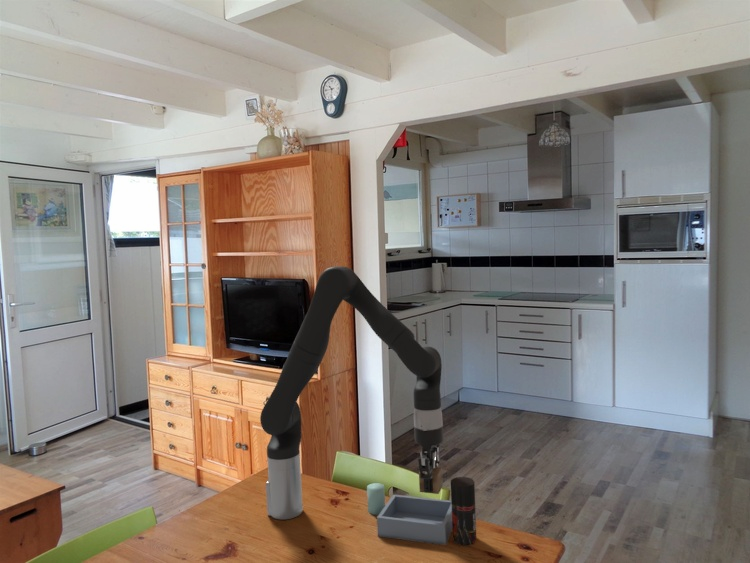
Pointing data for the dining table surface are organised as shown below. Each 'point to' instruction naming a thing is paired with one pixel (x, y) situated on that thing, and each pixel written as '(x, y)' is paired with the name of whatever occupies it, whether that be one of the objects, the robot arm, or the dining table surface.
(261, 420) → the robot arm
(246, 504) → the dining table surface
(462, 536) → the deodorant
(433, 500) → the box
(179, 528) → the dining table surface
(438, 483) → the walnut cube
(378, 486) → the teal cylinder
